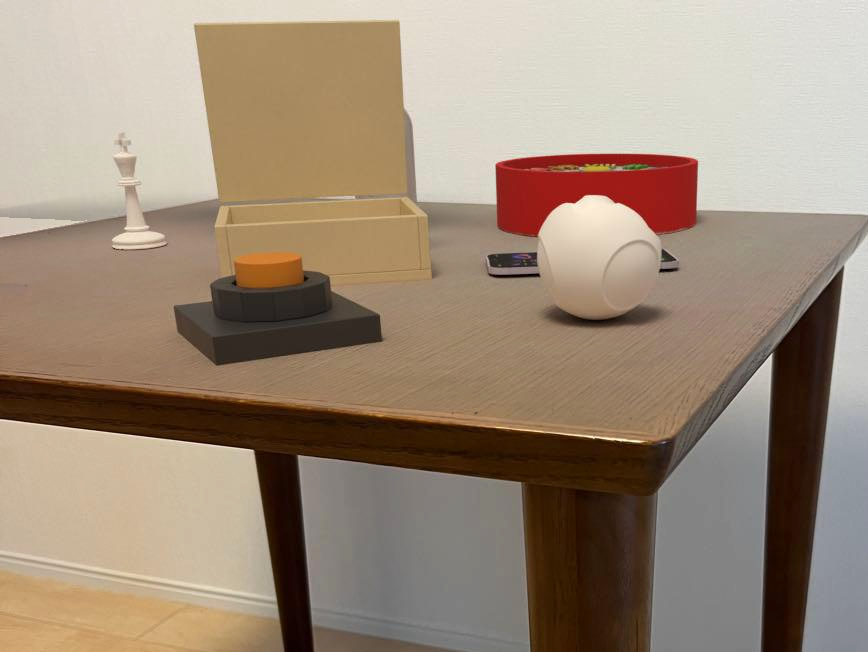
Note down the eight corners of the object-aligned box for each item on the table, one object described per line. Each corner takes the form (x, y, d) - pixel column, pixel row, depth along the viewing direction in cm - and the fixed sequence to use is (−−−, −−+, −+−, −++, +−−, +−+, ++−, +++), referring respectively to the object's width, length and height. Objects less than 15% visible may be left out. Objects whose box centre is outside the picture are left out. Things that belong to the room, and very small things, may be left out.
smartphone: (681, 261, 85) (488, 268, 84) (681, 268, 85) (489, 276, 84) (663, 247, 92) (485, 253, 90) (663, 254, 92) (485, 260, 91)
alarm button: (247, 296, 64) (243, 265, 63) (229, 285, 67) (225, 256, 66) (313, 288, 66) (310, 258, 65) (293, 278, 69) (289, 250, 68)
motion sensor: (674, 310, 72) (677, 188, 69) (636, 336, 66) (638, 203, 62) (562, 303, 75) (560, 185, 72) (516, 327, 69) (512, 199, 65)
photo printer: (424, 226, 110) (416, 94, 105) (383, 230, 109) (373, 96, 104) (390, 215, 119) (381, 93, 114) (352, 218, 117) (341, 94, 112)
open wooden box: (432, 279, 84) (428, 215, 82) (223, 293, 81) (214, 226, 79) (411, 253, 95) (408, 196, 93) (227, 264, 92) (219, 205, 90)
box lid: (399, 20, 86) (393, 13, 89) (193, 24, 82) (195, 16, 86) (408, 193, 93) (401, 180, 96) (219, 202, 90) (219, 188, 93)
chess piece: (137, 251, 100) (118, 135, 96) (100, 247, 102) (80, 134, 98) (178, 243, 104) (161, 131, 100) (141, 240, 106) (123, 130, 102)
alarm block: (216, 366, 61) (207, 304, 60) (177, 332, 69) (168, 276, 68) (382, 342, 66) (377, 283, 64) (327, 312, 74) (322, 260, 72)
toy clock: (573, 151, 120) (735, 157, 109) (573, 205, 123) (732, 217, 112) (453, 166, 106) (625, 175, 95) (456, 228, 108) (625, 244, 97)
